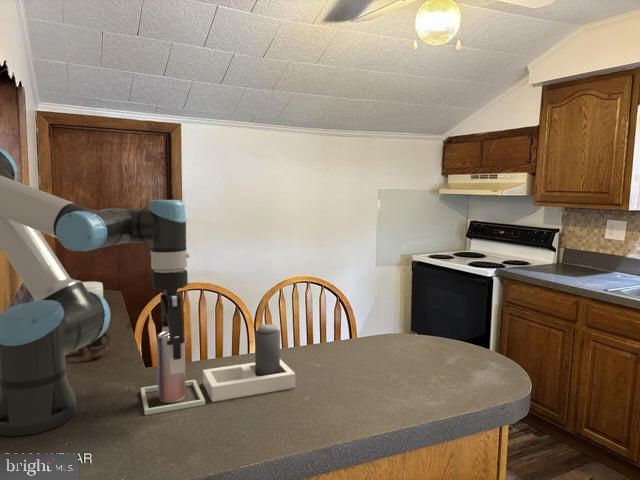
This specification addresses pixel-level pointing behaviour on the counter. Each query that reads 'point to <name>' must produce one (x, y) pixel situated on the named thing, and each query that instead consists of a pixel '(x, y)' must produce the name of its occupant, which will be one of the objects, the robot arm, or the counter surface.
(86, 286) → the supplement tub
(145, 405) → the rectangular frame
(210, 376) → the white divided tray
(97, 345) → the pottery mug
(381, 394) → the counter surface
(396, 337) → the counter surface
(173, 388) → the beverage can
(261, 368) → the single round plug
